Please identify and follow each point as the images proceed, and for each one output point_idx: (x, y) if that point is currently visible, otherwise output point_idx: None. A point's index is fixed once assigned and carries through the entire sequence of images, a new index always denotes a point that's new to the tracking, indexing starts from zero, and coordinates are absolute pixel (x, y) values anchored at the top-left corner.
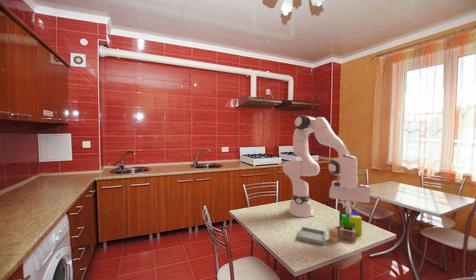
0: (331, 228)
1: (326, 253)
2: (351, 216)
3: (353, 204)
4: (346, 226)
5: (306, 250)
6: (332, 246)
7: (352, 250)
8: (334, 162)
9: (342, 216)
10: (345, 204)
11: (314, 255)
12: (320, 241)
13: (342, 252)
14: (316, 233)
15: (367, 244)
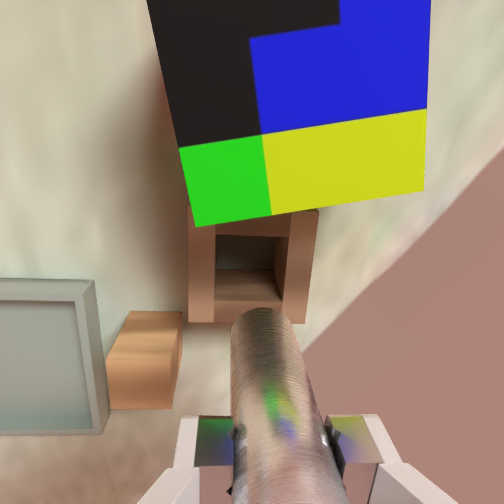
0: (119, 371)
1: (141, 466)
2: (306, 178)
3: (393, 500)
4: (239, 233)
5: (46, 482)
6: None
7: None
8: None
9: (194, 215)
10: (225, 491)
11: (94, 499)
12: (87, 432)
13: None
14: (28, 304)
15: (356, 292)
